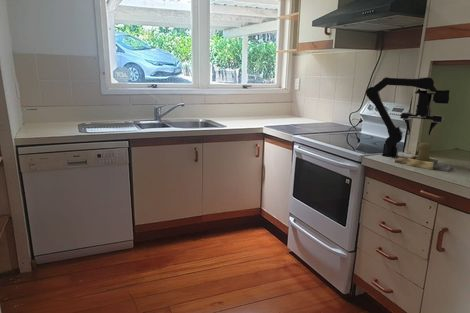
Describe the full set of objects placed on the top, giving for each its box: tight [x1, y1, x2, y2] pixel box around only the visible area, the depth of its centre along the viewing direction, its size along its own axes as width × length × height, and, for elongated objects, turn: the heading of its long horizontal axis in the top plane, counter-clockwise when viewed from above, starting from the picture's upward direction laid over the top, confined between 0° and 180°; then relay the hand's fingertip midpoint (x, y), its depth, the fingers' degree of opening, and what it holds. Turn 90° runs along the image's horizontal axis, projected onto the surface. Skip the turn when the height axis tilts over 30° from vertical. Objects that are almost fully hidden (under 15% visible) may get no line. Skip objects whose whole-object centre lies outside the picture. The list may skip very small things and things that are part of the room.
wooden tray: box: [394, 155, 452, 172], centre depth 165 cm, size 23×11×3 cm, turn 49°
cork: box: [416, 141, 432, 162], centre depth 164 cm, size 6×6×11 cm
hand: (419, 134), depth 174 cm, fingers open, 9 cm apart
